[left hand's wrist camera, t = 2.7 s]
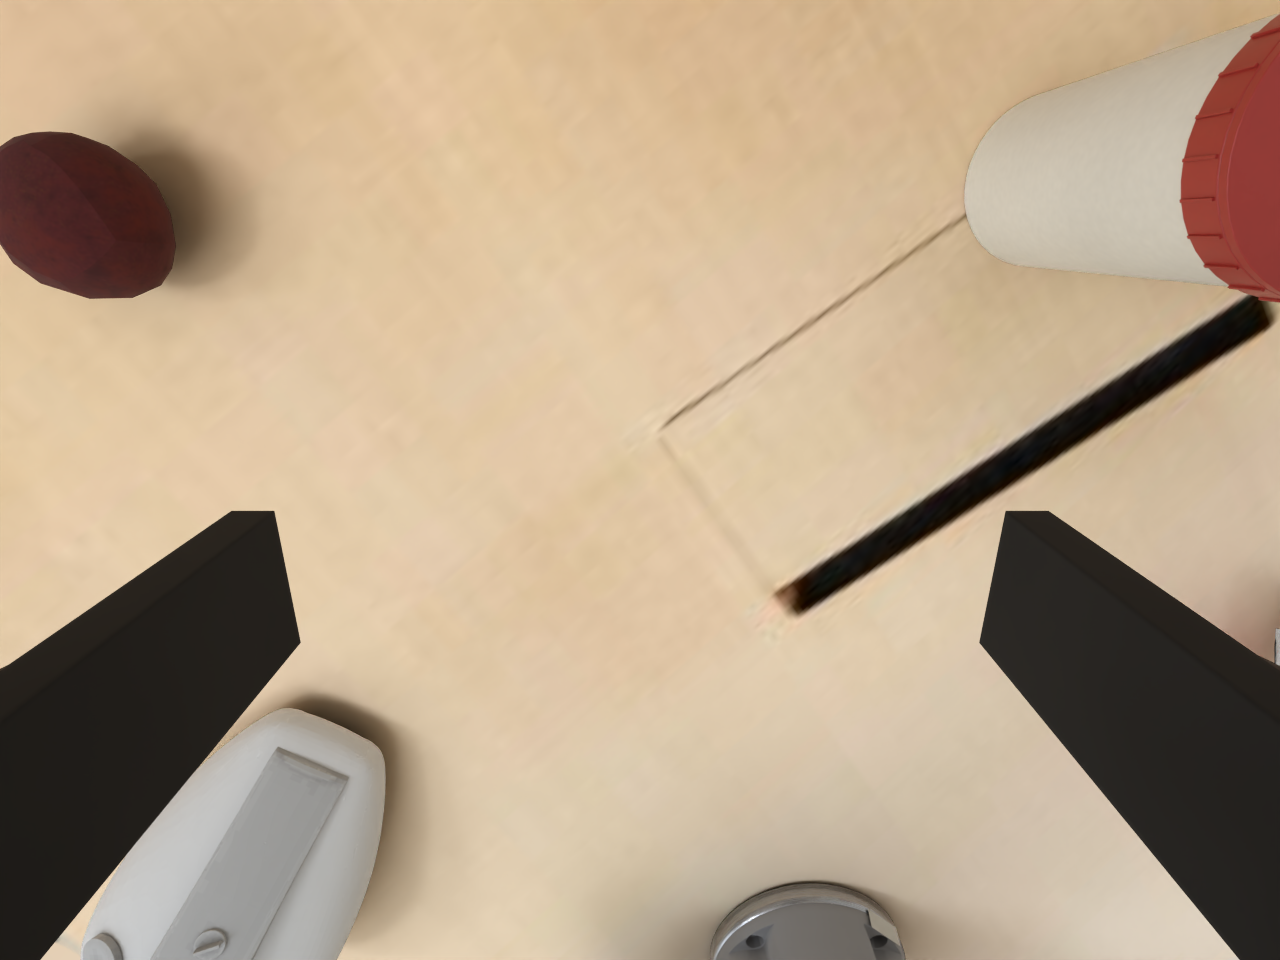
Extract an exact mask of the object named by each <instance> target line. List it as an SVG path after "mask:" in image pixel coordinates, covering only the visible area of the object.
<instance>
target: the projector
mask: <svg viewBox="0 0 1280 960" xmlns="http://www.w3.org/2000/svg"><path fill="white" fill-rule="evenodd" d="M385 785H386V776H385V762H384V758H383V754H382V752H381V751H380V749H379V748H378V747H377V746H376V745H375V744H374V743H372V742H371V741H370V740H368V739H365V738H363V737H361V736H359V735H358V734H356V733H354V732H352V731H350V730H348V729H346V728H344V727H342V726H339V725H337V724H335V723H333V722H330V721H328V720H326V719H323V718H320V717H318V716H315V715H312V714H309V713H306V712H304V711H302V710H298V709H293V708H282V709H278V710H276V711H273V712H271V713H269V714H267V715H266V716H264V717H262V718H261V719H259V720H257V721H256V722H254V723H253V724H251V725H250V726H249V727H247V728H246V729H244V730H243V731H242V732H240V733H239V734H238V735H236V736H235V737H234V738H233V739H231V740H230V741H229V742H227V743H226V744H225V745H224V746H222V747H221V748H220V749H219V750H218V751H217V752H215V753H214V754H213V755H212V756H211V757H210V758H209V759H208V760H206V761H205V762H204V763H203V764H202V765H201V766H200V767H199V768H198V769H197V770H196V771H195V772H194V773H193V774H192V776H191V777H190V778H189V779H188V780H187V782H186V783H185V784H184V785H183V786H182V788H181V789H180V790H179V791H178V793H177V794H176V795H175V796H174V797H173V799H172V800H171V801H170V802H169V804H168V805H167V806H166V807H165V808H164V810H163V811H162V812H161V813H160V815H159V816H158V817H157V818H156V819H155V821H154V822H153V823H152V824H151V825H150V827H149V828H148V829H147V830H146V832H145V833H144V834H143V835H142V836H141V838H140V839H139V840H138V841H137V843H136V844H135V845H134V846H133V847H132V849H131V850H130V851H129V852H128V854H127V855H126V857H125V858H124V860H123V861H122V863H121V864H120V866H119V867H118V869H117V871H116V872H115V874H114V876H113V877H112V879H111V880H110V882H109V884H108V886H107V888H106V889H105V891H104V893H103V895H102V896H101V898H100V900H99V902H98V904H97V906H96V908H95V910H94V912H93V915H92V917H91V919H90V921H89V924H88V927H87V930H86V932H85V935H84V938H83V942H82V949H81V960H337V958H338V956H339V954H340V952H341V950H342V948H343V946H344V944H345V942H346V940H347V938H348V936H349V934H350V931H351V929H352V927H353V924H354V922H355V920H356V917H357V915H358V912H359V910H360V907H361V904H362V902H363V899H364V897H365V894H366V891H367V888H368V885H369V881H370V878H371V875H372V872H373V868H374V864H375V860H376V855H377V851H378V846H379V841H380V836H381V829H382V822H383V814H384V804H385Z"/></svg>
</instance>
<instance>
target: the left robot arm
mask: <svg viewBox="0 0 1280 960" xmlns="http://www.w3.org/2000/svg"><path fill="white" fill-rule="evenodd" d="M300 643H301V642H300V637H299V632H298V627H297V622H296V617H295V612H294V607H293V602H292V597H291V592H290V587H289V582H288V577H287V572H286V567H285V562H284V557H283V552H282V547H281V542H280V537H279V532H278V527H277V522H276V517H275V512H274V511H231V512H229V513H228V514H226V515H225V516H224V517H222V518H221V519H219V520H218V521H216V522H215V523H213V524H212V525H211V526H209V527H208V528H206V529H205V530H203V531H202V532H200V533H199V534H198V535H196V536H195V537H193V538H192V539H190V540H189V541H187V542H186V543H184V544H183V545H182V546H180V547H179V548H177V549H176V550H174V551H173V552H171V553H170V554H169V555H167V556H166V557H164V558H163V559H161V560H160V561H158V562H157V563H156V564H154V565H153V566H151V567H150V568H148V569H147V570H145V571H144V572H142V573H141V574H140V575H138V576H137V577H135V578H134V579H132V580H131V581H129V582H128V583H127V584H125V585H124V586H122V587H121V588H119V589H118V590H116V591H115V592H113V593H112V594H111V595H109V596H108V597H106V598H105V599H103V600H102V601H100V602H99V603H98V604H96V605H95V606H93V607H92V608H90V609H89V610H87V611H86V612H85V613H83V614H82V615H80V616H79V617H77V618H76V619H74V620H73V621H71V622H70V623H69V624H67V625H66V626H64V627H63V628H61V629H60V630H58V631H57V632H56V633H54V634H53V635H51V636H50V637H48V638H47V639H45V640H44V641H43V642H41V643H40V644H38V645H37V646H35V647H34V648H32V649H31V650H29V651H28V652H27V653H25V654H24V655H22V656H21V657H19V658H18V659H16V660H15V661H14V662H12V663H11V664H9V665H7V666H5V667H3V668H1V669H0V960H40V959H41V958H42V957H43V956H44V955H45V953H46V952H47V951H48V950H49V949H50V947H51V946H52V945H53V944H54V942H55V941H56V940H57V939H58V938H59V936H60V935H61V934H62V933H63V931H64V930H65V929H66V928H67V927H68V925H69V924H70V923H71V922H72V921H73V919H74V918H75V917H76V916H77V914H78V913H79V912H80V911H81V910H82V908H83V907H84V906H85V905H86V903H87V902H88V901H89V900H90V899H91V897H92V896H93V895H94V894H95V892H96V891H97V890H98V889H99V888H100V886H101V885H102V884H103V883H104V882H105V880H106V879H107V878H108V877H109V875H110V874H111V873H112V872H113V871H114V869H115V868H116V867H117V866H118V864H119V863H120V862H121V861H122V860H123V858H124V857H125V856H126V855H127V854H128V852H129V851H130V850H131V849H132V847H133V846H134V845H135V844H136V843H137V841H138V840H139V839H140V838H141V836H142V835H143V834H144V833H145V832H146V830H147V829H148V828H149V827H150V825H151V824H152V823H153V822H154V821H155V819H156V818H157V817H158V816H159V815H160V813H161V812H162V811H163V810H164V808H165V807H166V806H167V805H168V804H169V802H170V801H171V800H172V799H173V797H174V796H175V795H176V794H177V793H178V791H179V790H180V789H181V788H182V786H183V785H184V784H185V783H186V782H187V780H188V779H189V778H190V777H191V776H192V774H193V773H194V772H195V771H196V769H197V768H198V767H199V766H200V765H201V763H202V762H203V761H204V760H205V758H206V757H207V756H208V755H209V754H210V752H211V751H212V750H213V749H214V747H215V746H216V745H217V744H218V743H219V741H220V740H221V739H222V738H223V737H224V735H225V734H226V733H227V732H228V730H229V729H230V728H231V727H232V726H233V724H234V723H235V722H236V721H237V719H238V718H239V717H240V716H241V715H242V713H243V712H244V711H245V710H246V709H247V707H248V706H249V705H250V704H251V702H252V701H253V700H254V699H255V698H256V696H257V695H258V694H259V693H260V691H261V690H262V689H263V688H264V687H265V685H266V684H267V683H268V682H269V680H270V679H271V678H272V677H273V676H274V674H275V673H276V672H277V671H278V670H279V668H280V667H281V666H282V665H283V663H284V662H285V661H286V660H287V659H288V657H289V656H290V655H291V654H292V652H293V651H294V650H295V649H296V648H297V646H298V645H299V644H300ZM979 643H980V644H981V645H982V646H983V648H984V649H985V650H986V651H987V652H988V654H989V655H990V656H991V657H992V659H993V660H994V661H995V662H996V663H997V665H998V666H999V667H1000V668H1001V670H1002V671H1003V672H1004V673H1005V674H1006V676H1007V677H1008V678H1009V679H1010V680H1011V682H1012V683H1013V684H1014V685H1015V687H1016V688H1017V689H1018V690H1019V691H1020V693H1021V694H1022V695H1023V696H1024V698H1025V699H1026V700H1027V701H1028V702H1029V704H1030V705H1031V706H1032V707H1033V709H1034V710H1035V711H1036V712H1037V713H1038V715H1039V716H1040V717H1041V718H1042V719H1043V721H1044V722H1045V723H1046V724H1047V726H1048V727H1049V728H1050V729H1051V730H1052V732H1053V733H1054V734H1055V735H1056V737H1057V738H1058V739H1059V740H1060V741H1061V743H1062V744H1063V745H1064V746H1065V748H1066V749H1067V750H1068V751H1069V752H1070V754H1071V755H1072V756H1073V757H1074V758H1075V760H1076V761H1077V762H1078V763H1079V765H1080V766H1081V767H1082V768H1083V769H1084V771H1085V772H1086V773H1087V774H1088V776H1089V777H1090V778H1091V779H1092V780H1093V782H1094V783H1095V784H1096V785H1097V786H1098V788H1099V789H1100V790H1101V791H1102V793H1103V794H1104V795H1105V796H1106V797H1107V799H1108V800H1109V801H1110V802H1111V804H1112V805H1113V806H1114V807H1115V808H1116V810H1117V811H1118V812H1119V813H1120V815H1121V816H1122V817H1123V818H1124V819H1125V821H1126V822H1127V823H1128V824H1129V825H1130V827H1131V828H1132V829H1133V830H1134V832H1135V833H1136V834H1137V835H1138V836H1139V838H1140V839H1141V840H1142V841H1143V843H1144V844H1145V845H1146V846H1147V847H1148V849H1149V850H1150V851H1151V852H1152V854H1153V855H1154V856H1155V857H1156V858H1157V860H1158V861H1159V862H1160V863H1161V864H1162V866H1163V867H1164V868H1165V869H1166V871H1167V872H1168V873H1169V874H1170V875H1171V877H1172V878H1173V879H1174V880H1175V882H1176V883H1177V884H1178V885H1179V886H1180V888H1181V889H1182V890H1183V891H1184V892H1185V894H1186V895H1187V896H1188V897H1189V899H1190V900H1191V901H1192V902H1193V903H1194V905H1195V906H1196V907H1197V908H1198V910H1199V911H1200V912H1201V913H1202V914H1203V916H1204V917H1205V918H1206V919H1207V921H1208V922H1209V923H1210V924H1211V925H1212V927H1213V928H1214V929H1215V930H1216V931H1217V933H1218V934H1219V935H1220V936H1221V938H1222V939H1223V940H1224V941H1225V942H1226V944H1227V945H1228V946H1229V947H1230V949H1231V950H1232V951H1233V952H1234V953H1235V955H1236V956H1237V957H1238V958H1239V959H1240V960H1280V666H1279V665H1277V664H1275V663H1273V662H1271V661H1269V660H1266V659H1264V658H1262V657H1260V656H1258V655H1256V654H1255V653H1253V652H1252V651H1251V650H1249V649H1248V648H1246V647H1245V646H1243V645H1242V644H1240V643H1239V642H1237V641H1236V640H1235V639H1233V638H1232V637H1230V636H1229V635H1227V634H1226V633H1224V632H1223V631H1222V630H1220V629H1219V628H1217V627H1216V626H1214V625H1213V624H1211V623H1210V622H1209V621H1207V620H1206V619H1204V618H1203V617H1201V616H1200V615H1198V614H1197V613H1195V612H1194V611H1193V610H1191V609H1190V608H1188V607H1187V606H1185V605H1184V604H1182V603H1181V602H1180V601H1178V600H1177V599H1175V598H1174V597H1172V596H1171V595H1169V594H1168V593H1167V592H1165V591H1164V590H1162V589H1161V588H1159V587H1158V586H1156V585H1155V584H1153V583H1152V582H1151V581H1149V580H1148V579H1146V578H1145V577H1143V576H1142V575H1140V574H1139V573H1138V572H1136V571H1135V570H1133V569H1132V568H1130V567H1129V566H1127V565H1126V564H1124V563H1123V562H1122V561H1120V560H1119V559H1117V558H1116V557H1114V556H1113V555H1111V554H1110V553H1109V552H1107V551H1106V550H1104V549H1103V548H1101V547H1100V546H1098V545H1097V544H1096V543H1094V542H1093V541H1091V540H1090V539H1088V538H1087V537H1085V536H1084V535H1082V534H1081V533H1080V532H1078V531H1077V530H1075V529H1074V528H1072V527H1071V526H1069V525H1068V524H1067V523H1065V522H1064V521H1062V520H1061V519H1059V518H1058V517H1056V516H1055V515H1054V514H1052V513H1051V512H1049V511H1006V512H1005V517H1004V522H1003V527H1002V532H1001V537H1000V542H999V547H998V552H997V557H996V562H995V567H994V572H993V577H992V582H991V587H990V592H989V597H988V602H987V607H986V612H985V617H984V622H983V627H982V632H981V637H980V642H979ZM710 960H905V953H904V950H903V947H902V944H901V941H900V938H899V936H898V933H897V929H896V927H895V925H894V923H893V921H892V920H891V918H890V916H889V915H888V914H887V913H886V911H885V910H884V909H883V908H882V907H881V906H880V905H878V904H877V903H876V902H874V901H873V900H872V899H870V898H868V897H867V896H865V895H863V894H861V893H858V892H856V891H853V890H851V889H847V888H844V887H840V886H835V885H828V884H813V883H811V884H796V885H789V886H784V887H780V888H776V889H772V890H769V891H766V892H764V893H761V894H759V895H757V896H755V897H753V898H751V899H749V900H747V901H746V902H744V903H742V904H741V905H740V906H738V907H737V908H736V909H734V910H733V911H732V912H731V913H730V914H729V915H728V916H727V917H726V918H725V919H724V920H723V922H722V923H721V924H720V926H719V927H718V929H717V931H716V933H715V935H714V937H713V940H712V944H711V950H710Z"/></svg>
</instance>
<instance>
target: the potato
mask: <svg viewBox="0 0 1280 960" xmlns="http://www.w3.org/2000/svg"><path fill="white" fill-rule="evenodd" d="M0 245H1V246H2V248H3V249H4V251H5V252H6V253H7V255H8V256H9V258H10V259H11V261H12V262H13V263H14V264H15V265H16V266H18V267H19V268H20V269H22V270H23V271H24V272H26V273H27V274H29V275H30V276H31V277H33V278H34V279H35V280H37V281H38V282H40V283H41V284H44V285H48V286H51V287H54V288H57V289H60V290H64V291H67V292H70V293H73V294H76V295H80V296H83V297H86V298H89V299H95V298H133V297H135V296H138V295H140V294H143V293H145V292H147V291H149V290H151V289H154V288H156V287H158V286H160V285H161V284H162V283H163V281H164V280H165V278H166V277H167V275H168V274H169V272H170V271H171V269H172V265H173V260H174V254H175V248H176V244H175V238H174V232H173V226H172V220H171V215H170V212H169V210H168V208H167V206H166V204H165V202H164V200H163V198H162V195H161V193H160V191H159V189H158V187H157V185H156V184H155V183H154V182H153V181H152V180H151V179H150V178H149V177H148V176H147V175H146V174H145V173H144V172H143V171H142V170H141V169H140V168H139V167H138V166H137V165H136V164H134V163H133V162H131V161H130V160H129V159H127V158H126V157H124V156H123V155H121V154H120V153H118V152H117V151H115V150H114V149H112V148H111V147H109V146H107V145H104V144H102V143H99V142H96V141H94V140H91V139H89V138H86V137H82V136H79V135H76V134H73V133H63V132H36V133H29V134H25V135H21V136H17V137H14V138H12V139H11V140H9V141H8V142H6V143H5V144H3V145H2V146H0Z"/></svg>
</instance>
